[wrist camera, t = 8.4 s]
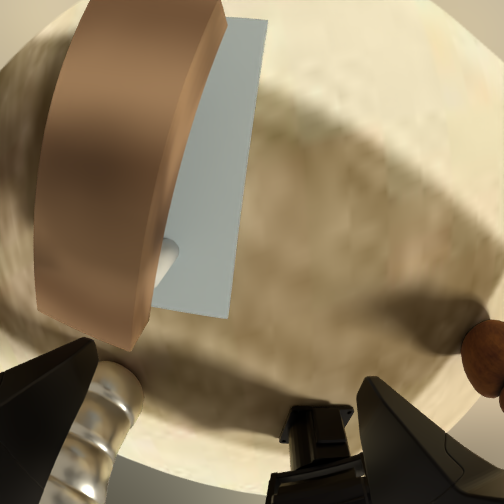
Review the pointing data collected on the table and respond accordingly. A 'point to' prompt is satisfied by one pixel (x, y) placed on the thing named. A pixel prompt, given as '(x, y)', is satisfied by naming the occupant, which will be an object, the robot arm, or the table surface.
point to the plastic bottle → (95, 437)
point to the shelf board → (117, 158)
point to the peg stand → (212, 181)
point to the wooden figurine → (485, 359)
